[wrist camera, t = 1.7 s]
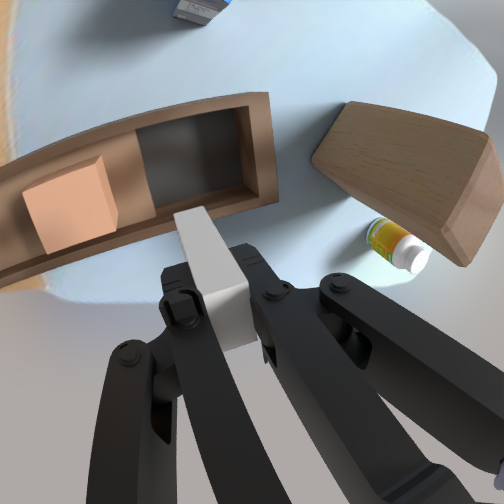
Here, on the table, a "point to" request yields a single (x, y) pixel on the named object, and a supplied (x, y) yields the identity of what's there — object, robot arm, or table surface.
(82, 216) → the clay block
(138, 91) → the table surface
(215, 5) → the blue retail box
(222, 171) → the channel
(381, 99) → the table surface
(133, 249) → the table surface
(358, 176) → the block
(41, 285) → the table surface
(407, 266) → the supplement bottle
